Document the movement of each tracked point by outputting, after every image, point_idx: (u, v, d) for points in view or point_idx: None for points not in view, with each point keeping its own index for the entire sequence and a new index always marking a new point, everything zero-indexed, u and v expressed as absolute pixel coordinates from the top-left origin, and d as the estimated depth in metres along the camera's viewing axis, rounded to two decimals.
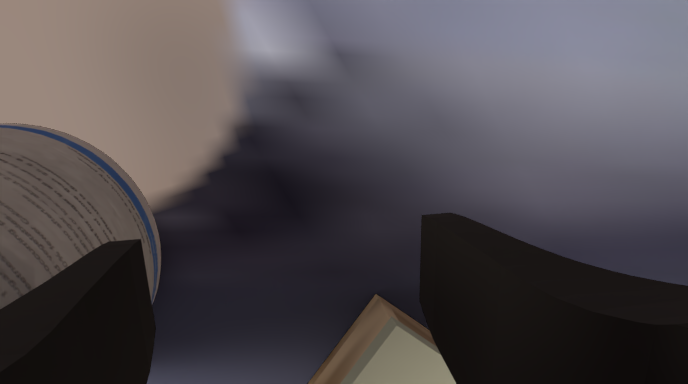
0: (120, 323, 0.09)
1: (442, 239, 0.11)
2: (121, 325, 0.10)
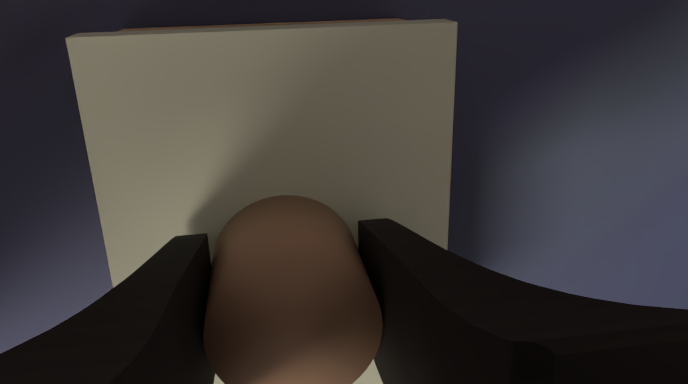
0: (198, 315, 0.10)
1: (371, 245, 0.10)
2: (198, 317, 0.10)
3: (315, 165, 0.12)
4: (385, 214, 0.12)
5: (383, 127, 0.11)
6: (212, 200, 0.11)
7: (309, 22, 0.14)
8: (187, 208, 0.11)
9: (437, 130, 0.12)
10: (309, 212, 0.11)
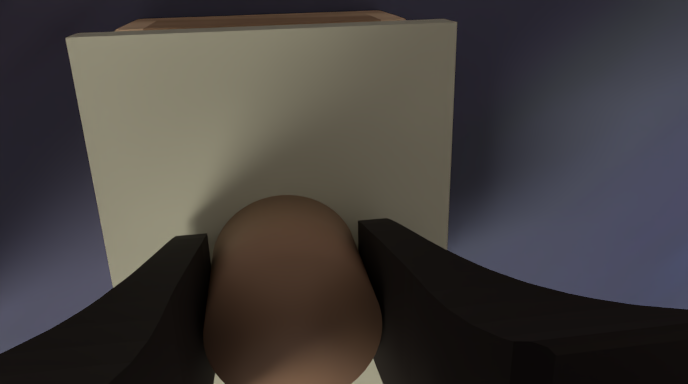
0: (197, 316, 0.10)
1: (371, 245, 0.10)
2: (198, 317, 0.10)
3: (315, 165, 0.12)
4: (384, 214, 0.12)
5: (383, 127, 0.11)
6: (212, 200, 0.11)
7: (300, 13, 0.16)
8: (187, 208, 0.11)
9: (436, 130, 0.12)
10: (309, 212, 0.11)
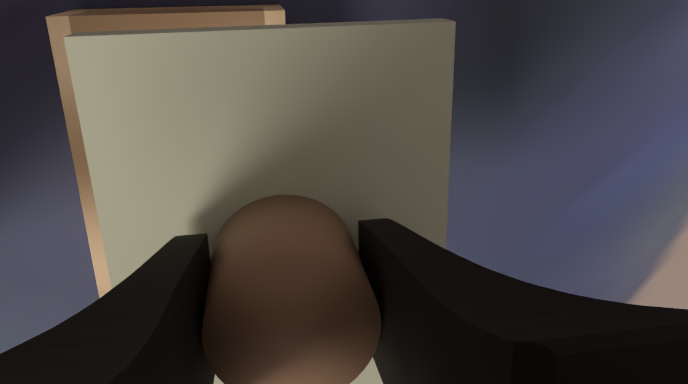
0: (197, 315, 0.10)
1: (371, 245, 0.10)
2: (198, 317, 0.10)
3: (313, 164, 0.12)
4: (383, 214, 0.12)
5: (381, 126, 0.11)
6: (210, 199, 0.11)
7: (211, 6, 0.19)
8: (185, 208, 0.11)
9: (435, 130, 0.12)
10: (307, 211, 0.11)
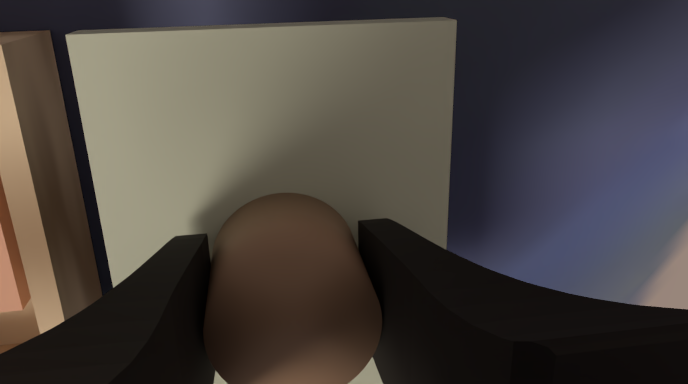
0: (197, 316, 0.10)
1: (371, 245, 0.10)
2: (198, 317, 0.10)
3: (315, 163, 0.12)
4: (384, 212, 0.12)
5: (382, 125, 0.11)
6: (212, 197, 0.11)
7: None
8: (186, 206, 0.11)
9: (436, 129, 0.12)
10: (309, 209, 0.11)
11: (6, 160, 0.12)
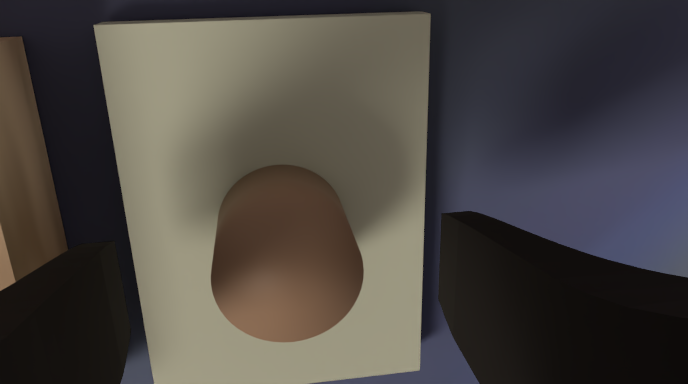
0: (89, 327, 0.09)
1: (464, 237, 0.11)
2: (90, 328, 0.09)
3: (307, 138, 0.13)
4: (369, 182, 0.14)
5: (366, 105, 0.13)
6: (217, 168, 0.13)
7: None
8: (195, 175, 0.13)
9: (414, 109, 0.13)
10: (302, 178, 0.13)
11: None
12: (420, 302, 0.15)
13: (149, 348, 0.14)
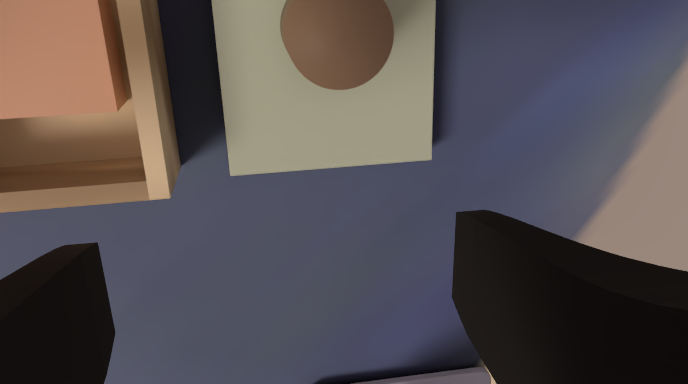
0: (69, 329, 0.09)
1: (480, 236, 0.11)
2: (70, 330, 0.09)
3: None
4: None
5: None
6: None
7: None
8: None
9: None
10: None
11: None
12: (432, 100, 0.20)
13: (226, 128, 0.19)
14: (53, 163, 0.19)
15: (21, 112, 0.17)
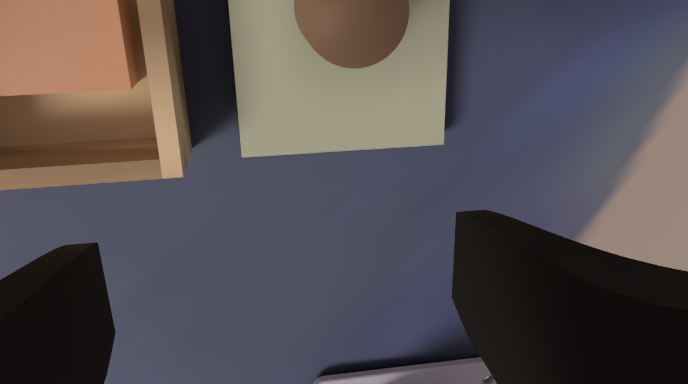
0: (68, 329, 0.09)
1: (480, 236, 0.11)
2: (70, 330, 0.09)
3: None
4: None
5: None
6: None
7: None
8: None
9: None
10: None
11: None
12: (445, 84, 0.20)
13: (238, 109, 0.19)
14: (65, 143, 0.19)
15: (34, 88, 0.17)
